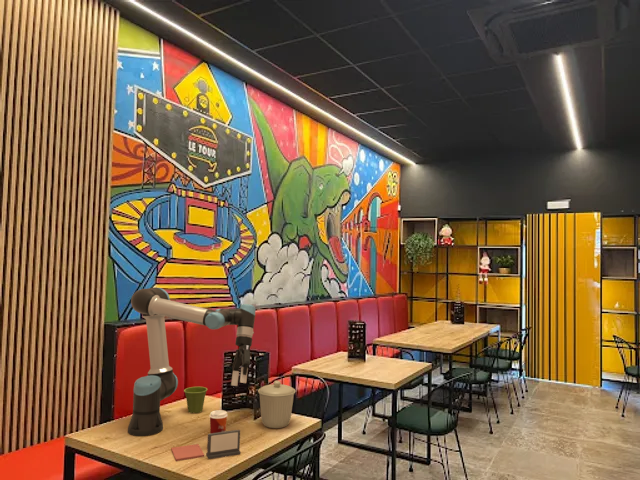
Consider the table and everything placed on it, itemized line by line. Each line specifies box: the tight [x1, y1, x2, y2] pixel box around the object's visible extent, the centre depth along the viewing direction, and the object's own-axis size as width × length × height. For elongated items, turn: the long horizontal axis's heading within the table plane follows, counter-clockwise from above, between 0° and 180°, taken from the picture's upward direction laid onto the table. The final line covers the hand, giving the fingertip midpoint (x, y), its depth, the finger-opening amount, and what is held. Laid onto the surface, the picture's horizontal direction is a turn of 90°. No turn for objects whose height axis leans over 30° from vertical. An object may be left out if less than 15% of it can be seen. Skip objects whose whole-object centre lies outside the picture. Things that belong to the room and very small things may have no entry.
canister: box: [257, 380, 296, 429], centre depth 226 cm, size 18×18×21 cm
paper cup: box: [208, 409, 228, 434], centre depth 199 cm, size 8×8×14 cm
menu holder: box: [205, 429, 241, 460], centre depth 189 cm, size 4×13×9 cm, turn 116°
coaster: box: [170, 443, 205, 462], centre depth 190 cm, size 12×11×1 cm
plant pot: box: [183, 386, 208, 414], centre depth 243 cm, size 12×12×11 cm
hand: (238, 384), depth 210 cm, fingers open, 13 cm apart
